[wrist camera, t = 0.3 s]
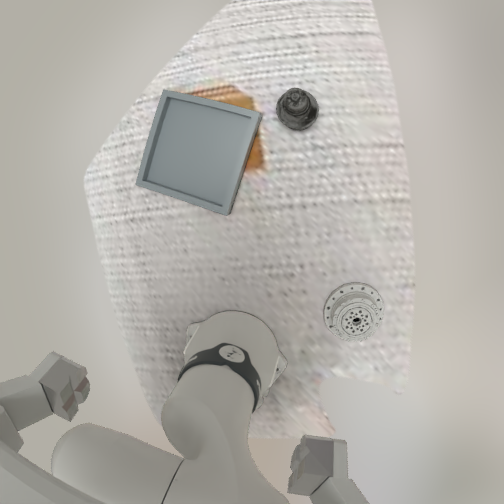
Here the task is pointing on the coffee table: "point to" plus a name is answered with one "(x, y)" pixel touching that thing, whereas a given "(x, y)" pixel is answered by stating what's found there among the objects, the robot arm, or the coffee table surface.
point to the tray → (198, 150)
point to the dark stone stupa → (297, 109)
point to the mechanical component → (354, 311)
